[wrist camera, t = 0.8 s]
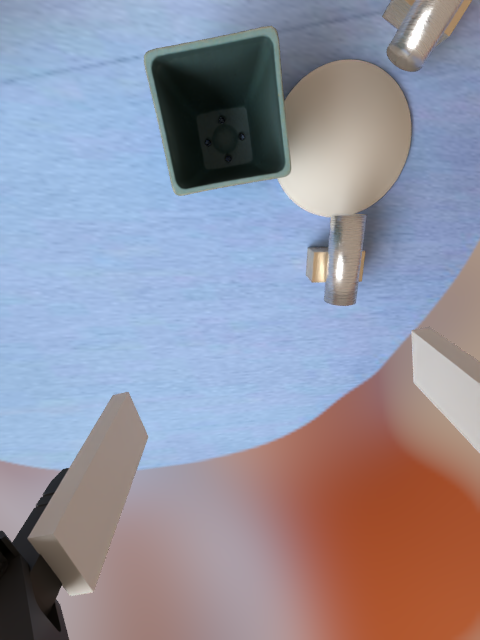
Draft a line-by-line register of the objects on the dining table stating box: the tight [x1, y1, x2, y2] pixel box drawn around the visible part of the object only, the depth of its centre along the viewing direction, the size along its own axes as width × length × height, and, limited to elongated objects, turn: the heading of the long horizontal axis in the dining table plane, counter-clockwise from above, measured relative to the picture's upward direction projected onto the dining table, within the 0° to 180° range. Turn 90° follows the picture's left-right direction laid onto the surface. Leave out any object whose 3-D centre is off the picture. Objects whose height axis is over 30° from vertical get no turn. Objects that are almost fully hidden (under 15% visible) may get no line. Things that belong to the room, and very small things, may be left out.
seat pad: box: [277, 59, 411, 217], centre depth 30 cm, size 13×13×1 cm
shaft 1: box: [306, 214, 367, 306], centre depth 31 cm, size 8×5×6 cm, turn 1°
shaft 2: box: [382, 0, 472, 72], centre depth 24 cm, size 8×5×6 cm, turn 151°
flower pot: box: [144, 26, 291, 196], centre depth 26 cm, size 9×9×9 cm
